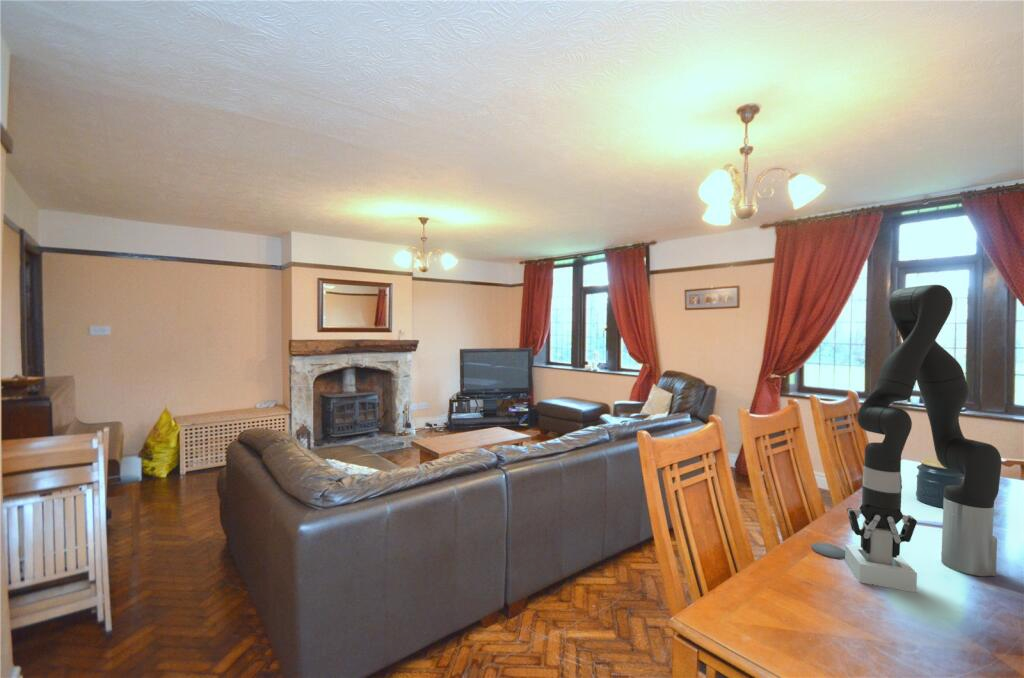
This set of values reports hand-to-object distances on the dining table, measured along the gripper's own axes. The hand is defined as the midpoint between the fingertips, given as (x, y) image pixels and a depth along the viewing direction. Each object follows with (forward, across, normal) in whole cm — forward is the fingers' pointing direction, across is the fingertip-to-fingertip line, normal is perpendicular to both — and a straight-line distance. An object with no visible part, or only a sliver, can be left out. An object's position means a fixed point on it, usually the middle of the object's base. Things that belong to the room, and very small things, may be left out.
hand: (879, 553), depth 113 cm
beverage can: (+6, 0, 0) cm, 6 cm away
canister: (+6, -40, -69) cm, 80 cm away
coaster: (+6, +8, -10) cm, 14 cm away
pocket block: (+6, 0, 0) cm, 6 cm away
